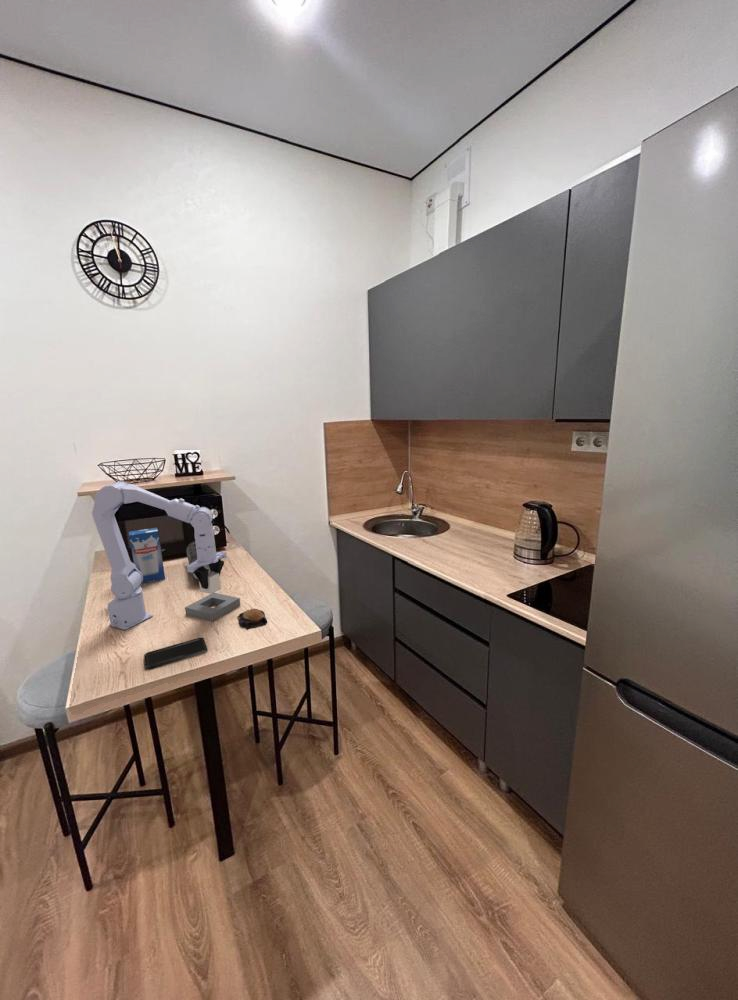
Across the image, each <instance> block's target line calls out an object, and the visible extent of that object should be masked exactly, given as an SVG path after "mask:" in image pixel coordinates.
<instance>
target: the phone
mask: <svg viewBox="0 0 738 1000" xmlns="http://www.w3.org/2000/svg"><path fill="white" fill-rule="evenodd" d="M207 652H208V646H207V644H206V641H205V638H204V637H202V636H201V637H198V638H195V639H193V638H192V639H191V640H186V641H183V642H180V643H176V644H172V645H169V646H166V647H162V648H158V649H154V650H152V651H151V650H150V651H148V652H146V653H145V654H143V658H144V659H143V663H144V668H145V669H144V670H147V671H149V670H154V669H156V668H160V667H163V666H166V665H170V664H172V663H177V662H179V661H183V660H186V659H190V658H193V657H197V656H199V655H202V654H206V653H207Z"/></svg>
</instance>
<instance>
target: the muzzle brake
mask: <svg viewBox="0 0 738 1000" xmlns="http://www.w3.org/2000/svg"><path fill="white" fill-rule="evenodd" d="M185 552H186V557H187V560H188V561H187V562H188V565H190V564H191V563H193V562H194V561H196V560H197V559H198V558H197V551H196V543H195V540H194V541H191V542H190V543H189V544H188V546H187V547H186V551H185ZM204 568H205V569H209V571H210V568H209V565H206V566H204ZM189 573H190V575H191V577H192V578H193V579H194V580H197V581H199V580H198V578H197V577H196V575H195V574H194V573H193V572H192V573H191V572H189Z"/></svg>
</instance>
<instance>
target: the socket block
mask: <svg viewBox="0 0 738 1000" xmlns="http://www.w3.org/2000/svg"><path fill="white" fill-rule="evenodd" d="M212 605H214V606H215V607H211V606H212ZM239 606H241V597H236V596H232V595H227V594H222V593H218V592H214V593H212V594H210V593H209V594H208V595H206V596H204V597H202V598H200V599H198V600H196V601H194V602H192V603H191V604H188V605H187V606H185V607H184V609H185V615H186V616H189V617H193V618H194V617H195V618H198V619H202V620H206V621H209V622H210V621H211V622H214V621H216V620H218V619H219V618H221V617H223V616H224V615H226V614H228V613H229V612H231V611H233V610H234V609H236V608H238V607H239Z"/></svg>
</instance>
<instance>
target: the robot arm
mask: <svg viewBox="0 0 738 1000" xmlns="http://www.w3.org/2000/svg"><path fill="white" fill-rule="evenodd" d="M94 499H95V500H94V504H93V509H92V512H91V515H92V518H93V522H94V523H95V524H94V525H95V527H96V530H97V532H98V535H99V537H100V540H101V543H102V546H103V548H104V551H105V554H106V557H107V559H108V561H109V565H110V568H111V572H110V577H109V579H110V582H111V586H110V591H111V594H112V595H113V596H114V598H113V599H112V600H111V601H109V602H108V604H107V612H108V616H109V617H108V618H109V624H108V625H109V626H110V627H114V628H118V629H120V630H126V631H127V630H128V629H130V628H132V627H134V626H136V625H138V624H139V623H142V622H143V621H146V620H148V619H150V618H152V617H153V614H151V613H147V611H146V604H145V599H144V592H143V588H142V587H141V585H142V584H141V583H142V581H143V575H142V573H141V572H140V571H139V570H138V569H137V568H136V565H135V564H134V562H132V561H131V558H130V556H129V552H128V550H127V547H126V544H125V541H124V539H123V536H122V533H121V530H120V528H119V525H118V522H117V519H116V516H115V514H116V512H117V511H118V510H119V508H120V507H121V506H122V505H123V504H125V505H126V504H132V503H136V502H138V503H141V504H145V505H148V506H151V507H155V508H158V509H160V510H163V511H165V512H166V514H167V516H168V517H171V518H174V519H176V520H179V521H182V522H185V523H187V524H190V525H191V526H192V527H193V531H194V533H193V534H194V535H193V536H194V541H195V543H196V545H195V546H196V552H197V558H198V559H197V560H196V561H194V562H193V563H191V564H190V565H189V564H188V565H187V566H186V572H187V573H190V572H191V573H192V572H193V573H194V574H195V575H196V577H197V578H198V580H197V581H198V583H199V582H200V584H201V586H202V588H204V589H207V588H208V572H209V569H205V568H204V566H206V565H209V568H210V571H214V573H219V576H220V577H221V572H222V570H223V567H224V565H225V561H224V560H222V559H226V558H228V556H227V551H220V552H217V548H216V540H215V532H214V527H213V522H212V521H213V518H214V514H213V511H211V509H209V508H208V507H206V506H201V507H200V505H198V504H196V505H194V504H191V503H190V502H186V501H185V499H183V498H181V497H180V498H179V499H178V498H174V499H171V500H169V499H168V498H165V497H162V496H161V495H158V494H156V493H154V492H151V491H148V490H146V489H144V488H142V487H140V486H138V485H135V484H132V483H128V482H125V481H123V480H121V481H120V480H119V481H114V482H113V483H111V484H109V485H105V486H102V487H101V488H100V489H99V490H98V492H96V493H95V495H94Z"/></svg>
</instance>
